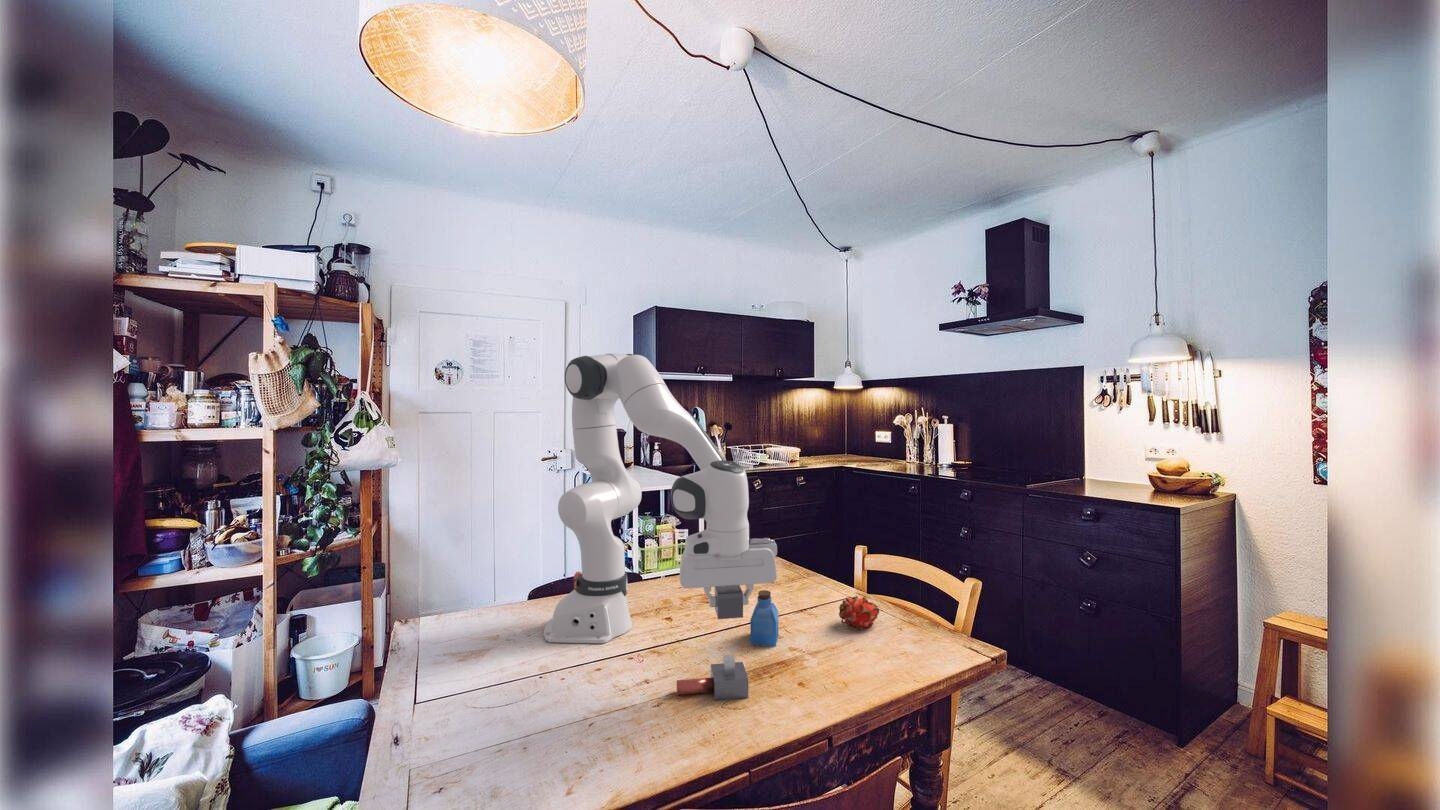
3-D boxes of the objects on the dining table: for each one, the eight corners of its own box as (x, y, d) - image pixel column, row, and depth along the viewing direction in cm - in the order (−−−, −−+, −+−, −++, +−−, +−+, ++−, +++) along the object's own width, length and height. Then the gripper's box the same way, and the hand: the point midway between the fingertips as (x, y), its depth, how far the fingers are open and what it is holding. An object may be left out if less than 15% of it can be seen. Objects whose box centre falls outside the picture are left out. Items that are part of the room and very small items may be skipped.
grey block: (717, 619, 119) (717, 594, 119) (714, 608, 125) (714, 584, 124) (743, 617, 120) (742, 592, 120) (739, 607, 125) (738, 583, 125)
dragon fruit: (834, 633, 152) (874, 633, 155) (849, 626, 145) (891, 626, 149) (828, 600, 157) (868, 601, 160) (843, 591, 150) (884, 592, 153)
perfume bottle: (775, 646, 142) (775, 598, 141) (750, 644, 144) (750, 596, 143) (778, 634, 148) (778, 588, 147) (754, 632, 150) (753, 587, 149)
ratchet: (677, 703, 119) (677, 670, 118) (676, 684, 126) (675, 653, 125) (748, 697, 121) (748, 664, 120) (742, 679, 128) (742, 648, 127)
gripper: (773, 533, 126) (774, 595, 127) (678, 537, 123) (679, 601, 124) (780, 541, 120) (780, 607, 120) (680, 547, 117) (681, 614, 118)
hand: (728, 604), depth 122 cm, fingers closed on grey block, 5 cm apart
